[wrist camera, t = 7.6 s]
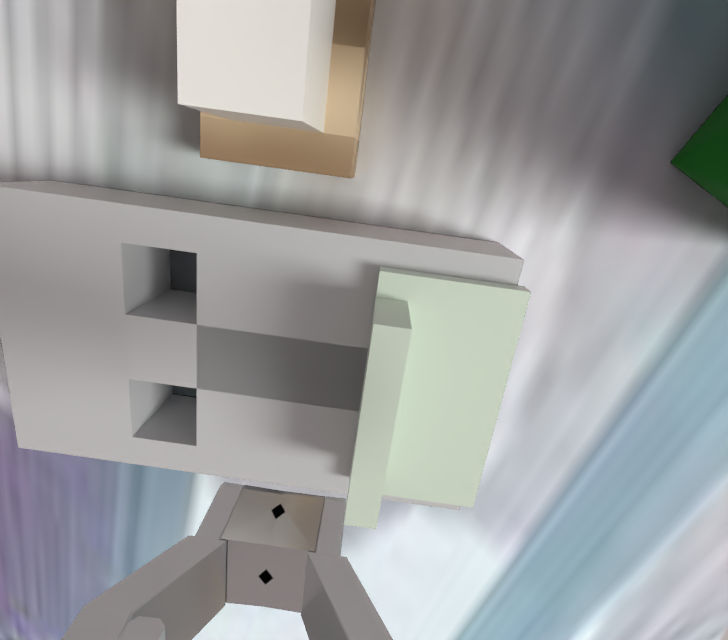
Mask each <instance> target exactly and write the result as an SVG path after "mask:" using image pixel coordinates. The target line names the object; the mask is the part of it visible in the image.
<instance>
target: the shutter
mask: <svg viewBox="0 0 728 640" xmlns="http://www.w3.org/2000/svg"><path fill="white" fill-rule="evenodd" d="M530 294H531V292H530V291H529V290H528V289H527V288H526V287H524V286H517V285H510V284H503V283H495V282H488V281H481V280H474V279H467V278H460V277H453V276H446V275H438V274H431V273H424V272H417V271H410V270H403V269H396V268H388V267H381V266H380V270H379V277H378V284H377V291H376V298H375V305H374V312H373V319H372V325H371V332H370V339H369V346H368V353H367V360H366V367H365V373H364V380H363V387H362V394H361V401H360V408H359V415H358V421H357V428H356V435H355V442H354V449H353V456H352V463H351V469H350V476H349V484H348V496H347V504H346V512H345V521H344V525H350V526H357V527H364V528H371V529H376V527H377V521H378V515H379V510H380V504H381V499H382V495H388V496H395V497H402V498H409V499H416V500H423V501H430V502H437V503H444V504H451V505H458V506H465V507H472V508H473V505H474V502H475V498H476V494H477V490H478V487H479V483H480V479H481V476H482V472H483V468H484V465H485V461H486V457H487V453H488V450H489V446H490V442H491V439H492V435H493V431H494V428H495V424H496V420H497V416H498V413H499V409H500V405H501V402H502V398H503V394H504V391H505V387H506V383H507V379H508V376H509V372H510V368H511V365H512V361H513V357H514V354H515V350H516V346H517V342H518V339H519V335H520V331H521V328H522V324H523V320H524V317H525V313H526V309H527V305H528V302H529V298H530Z"/></svg>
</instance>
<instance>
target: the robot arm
mask: <svg viewBox="0 0 728 640" xmlns="http://www.w3.org/2000/svg"><path fill="white" fill-rule="evenodd" d="M345 510H346V499H344V498H335V497H327V496H326V498H325V496H318V495H310V494H302V493H294V492H286V491H279V490H272V489H266V488H260V487H254V486H248V485H245V486H244V485H238V484H233V483H227V482H224V483H223V484H222V485H221V486H220V488H219V490H218V492H217V494H216V496H215V498H214V500H213V502H212V504H211V506H210V508H209V510H208V512H207V513H206V515H205V517H204V519H203V521H202V523H201V525H200V527H199V529H198V531H197V533H196V535H195V536H187V537H186V538H184V539H183V540H181V541H180V542H178V543H177V544H175V545H174V546H172V547H171V548H169V549H168V550H166V551H165V552H163V553H162V554H160V555H159V556H157V557H156V558H154V559H153V560H151V561H150V562H148V563H147V564H146V565H144V566H143V567H141V568H140V569H138V570H137V571H135V572H134V573H132V574H131V575H129V576H128V577H126V578H125V579H123V580H122V581H120V582H119V583H117V584H116V585H114V586H113V587H111V588H110V589H108V590H107V591H105V592H104V593H102V594H101V595H99V596H98V597H96V598H95V599H93V600H92V601H90V602H89V603H88V604H86V605H85V606H84V607H83V608H82V610H81V611H80V613H79V614H78V615H77V617H76V618H75V620H74V621H73V623H72V624H71V626H70V627H69V629H68V630H67V632H66V633H65V635H64V636H63V638H62V639H61V640H192V639H193V638H194V637H195V636H196V635H197V634H198V633H199V632H200V630H201V629H202V628H203V627H204V626H205V625H206V624H207V623H208V622H209V621H210V620H211V619H212V618H213V617H214V616H215V615H216V614H217V613H218V612H219V611H220V610H221V609H222V608H223V607H224V606H225V602H226V603H235V604H245V605H254V606H264V607H270V608H276V609H282V610H288V611H293V612H299V613H301V616H302V619H303V622H304V625H305V628H306V631H307V634H308V637H309V640H393V639H392V637H391V636H390V634H389V632H388V630H387V628H386V627H385V625H384V623H383V621H382V619H381V618H380V616H379V614H378V612H377V611H376V609H375V607H374V605H373V603H372V602H371V600H370V598H369V596H368V595H367V593H366V591H365V589H364V587H363V586H362V584H361V582H360V580H359V579H358V577H357V575H356V573H355V571H354V570H353V568H352V566H351V564H350V562H349V561H348V559H347V557H342V556H340V554H341V545H342V536H343V528H344V519H345Z"/></svg>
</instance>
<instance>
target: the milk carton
mask: <svg viewBox="0 0 728 640" xmlns="http://www.w3.org/2000/svg"><path fill="white" fill-rule="evenodd" d="M671 163H672V164H673V165H674V166H675V167H677V168H678V169H679V170H681V171H682V172H683V173H684V174H686V175H687V176H688V177H689V178H691V179H692V180H693V181H695V182H696V183H697V184H698V185H700V186H701V187H702V188H703V189H705V190H706V191H707V192H709V193H710V194H711V195H712V196H714V197H715V198H716V199H717V200H719V201H720V202H721V203H723V204H724V205H725V206H726V207H728V95H727V96H726V98H725V99H724V100H723V101H722V102H721V103H720V105H719V106H718V107H717V108H716V109H715V111H714V112H713V113H712V114H711V115H710V116H709V118H708V119H707V120H706V121H705V122H704V123H703V125H702V126H701V127H700V128H699V129H698V131H697V132H696V133H695V134H694V135H693V136H692V138H691V139H690V140H689V141H688V142H687V143H686V145H685V146H684V147H683V148H682V149H681V150H680V152H679V153H678V154H677V155H676V156H675V158H674V159H673V160H672V161H671Z"/></svg>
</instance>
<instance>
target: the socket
mask: <svg viewBox="0 0 728 640" xmlns="http://www.w3.org/2000/svg"><path fill="white" fill-rule="evenodd" d="M170 249H171V250H178V251H185V252H192V253H197V293H194V292H187V291H180V290H173V289H171V288H170ZM523 263H524V259H522V258H521V257H519V256H518V255H516V254H515V253H513V252H512V251H510V250H509V249H507V248H506V247H504V246H503V245H501V244H500V243H497V242H490V241H483V240H476V239H468V238H461V237H454V236H447V235H440V234H433V233H426V232H418V231H411V230H404V229H397V228H390V227H383V226H375V225H368V224H361V223H354V222H347V221H340V220H332V219H325V218H318V217H311V216H304V215H297V214H289V213H282V212H275V211H268V210H261V209H254V208H246V207H239V206H232V205H225V204H218V203H211V202H203V201H196V200H189V199H182V198H175V197H168V196H160V195H153V194H146V193H139V192H132V191H125V190H117V189H110V188H103V187H96V186H89V185H82V184H75V183H67V182H60V181H53V180H49V181H22V182H0V337H1V343H2V349H3V356H4V362H5V368H6V374H7V380H8V386H9V393H10V399H11V405H12V411H13V417H14V423H15V429H16V436H17V442H18V447H19V448H26V449H33V450H40V451H47V452H54V453H61V454H68V455H75V456H82V457H89V458H96V459H103V460H110V461H117V462H124V463H131V464H138V465H145V466H152V467H159V468H166V469H173V470H180V471H187V472H194V473H201V474H208V475H215V476H222V477H229V478H236V479H243V480H250V481H257V482H265V483H272V484H279V485H286V486H293V487H300V488H307V489H314V490H321V491H328V492H335V493H342V494H348V484H349V476H350V469H351V463H352V456H353V449H354V442H355V435H356V428H357V421H358V415H359V408H360V401H361V394H362V387H363V380H364V373H365V367H366V360H367V353H368V346H369V339H370V332H371V325H372V319H373V312H374V305H375V298H376V291H377V284H378V277H379V270H380V266H381V267H388V268H396V269H403V270H410V271H417V272H424V273H431V274H438V275H446V276H453V277H460V278H467V279H474V280H481V281H488V282H495V283H503V284H510V285H517V286H518V282H519V278H520V274H521V271H522V267H523ZM172 385H175V386H182V387H189V388H196V389H197V398H196V397H189V396H181V395H174V394H173V389H172ZM382 499H384V500H391V501H398V502H405V503H412V504H419V505H426V506H433V507H440V508H447V509H454V510H460V507H461V506H458V505H451V504H444V503H437V502H430V501H423V500H416V499H409V498H402V497H395V496H388V495H382Z"/></svg>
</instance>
